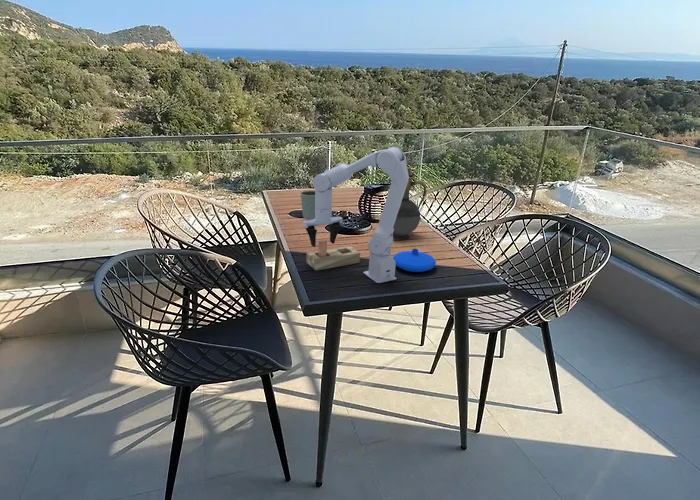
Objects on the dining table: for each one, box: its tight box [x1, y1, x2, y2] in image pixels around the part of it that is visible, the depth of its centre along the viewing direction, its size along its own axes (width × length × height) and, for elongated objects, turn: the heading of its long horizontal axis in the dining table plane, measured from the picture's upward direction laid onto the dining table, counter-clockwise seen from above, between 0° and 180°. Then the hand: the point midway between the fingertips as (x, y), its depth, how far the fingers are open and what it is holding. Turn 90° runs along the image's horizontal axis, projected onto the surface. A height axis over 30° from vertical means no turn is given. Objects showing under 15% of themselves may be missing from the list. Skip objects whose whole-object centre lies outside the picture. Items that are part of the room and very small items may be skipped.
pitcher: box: [393, 167, 428, 240], centre depth 193 cm, size 11×19×30 cm, turn 112°
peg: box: [317, 239, 328, 257], centre depth 163 cm, size 3×3×9 cm
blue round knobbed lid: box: [392, 248, 437, 273], centre depth 165 cm, size 16×16×7 cm
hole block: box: [306, 245, 361, 271], centre depth 166 cm, size 8×18×4 cm, turn 119°
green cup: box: [300, 190, 315, 220], centre depth 218 cm, size 10×10×12 cm
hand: (322, 244), depth 162 cm, fingers open, 7 cm apart
